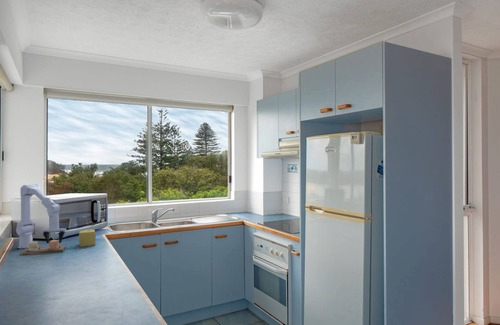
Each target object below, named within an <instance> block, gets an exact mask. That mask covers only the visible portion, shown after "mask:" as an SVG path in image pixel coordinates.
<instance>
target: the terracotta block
mask: <svg viewBox="0 0 500 325" xmlns="http://www.w3.org/2000/svg"><path fill="white" fill-rule="evenodd" d="M48 244H49V245H48V247H49V250H53V249H59V246H60V243H59V239H53V240H52V239H51V240H49V243H48Z"/></svg>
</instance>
